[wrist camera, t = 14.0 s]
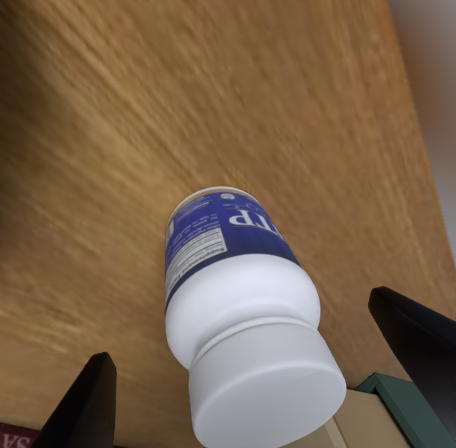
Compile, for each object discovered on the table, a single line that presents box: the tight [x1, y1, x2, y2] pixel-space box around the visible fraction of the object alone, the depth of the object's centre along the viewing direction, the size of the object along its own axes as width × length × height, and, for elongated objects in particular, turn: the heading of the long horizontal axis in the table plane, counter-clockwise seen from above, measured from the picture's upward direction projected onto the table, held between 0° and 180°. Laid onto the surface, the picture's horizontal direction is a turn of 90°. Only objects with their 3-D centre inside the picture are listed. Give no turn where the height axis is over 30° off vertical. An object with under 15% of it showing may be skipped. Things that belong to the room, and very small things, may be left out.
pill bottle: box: [165, 186, 346, 448], centre depth 11 cm, size 5×5×9 cm
